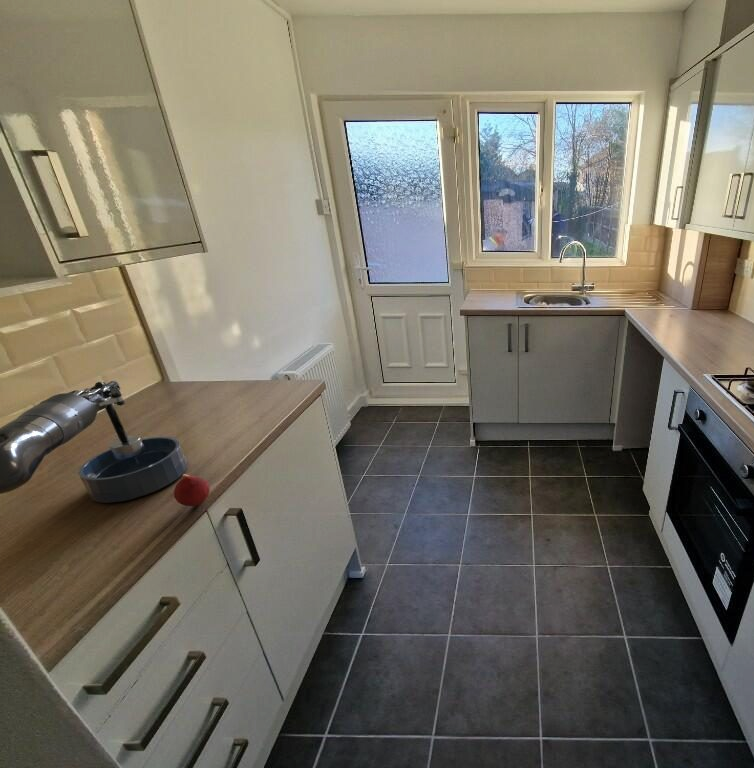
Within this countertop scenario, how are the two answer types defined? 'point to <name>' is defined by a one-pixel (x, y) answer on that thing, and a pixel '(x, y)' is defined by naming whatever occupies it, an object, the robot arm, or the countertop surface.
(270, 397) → the countertop surface
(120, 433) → the weighted rod stand
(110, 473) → the bowl
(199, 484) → the onion
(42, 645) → the countertop surface
